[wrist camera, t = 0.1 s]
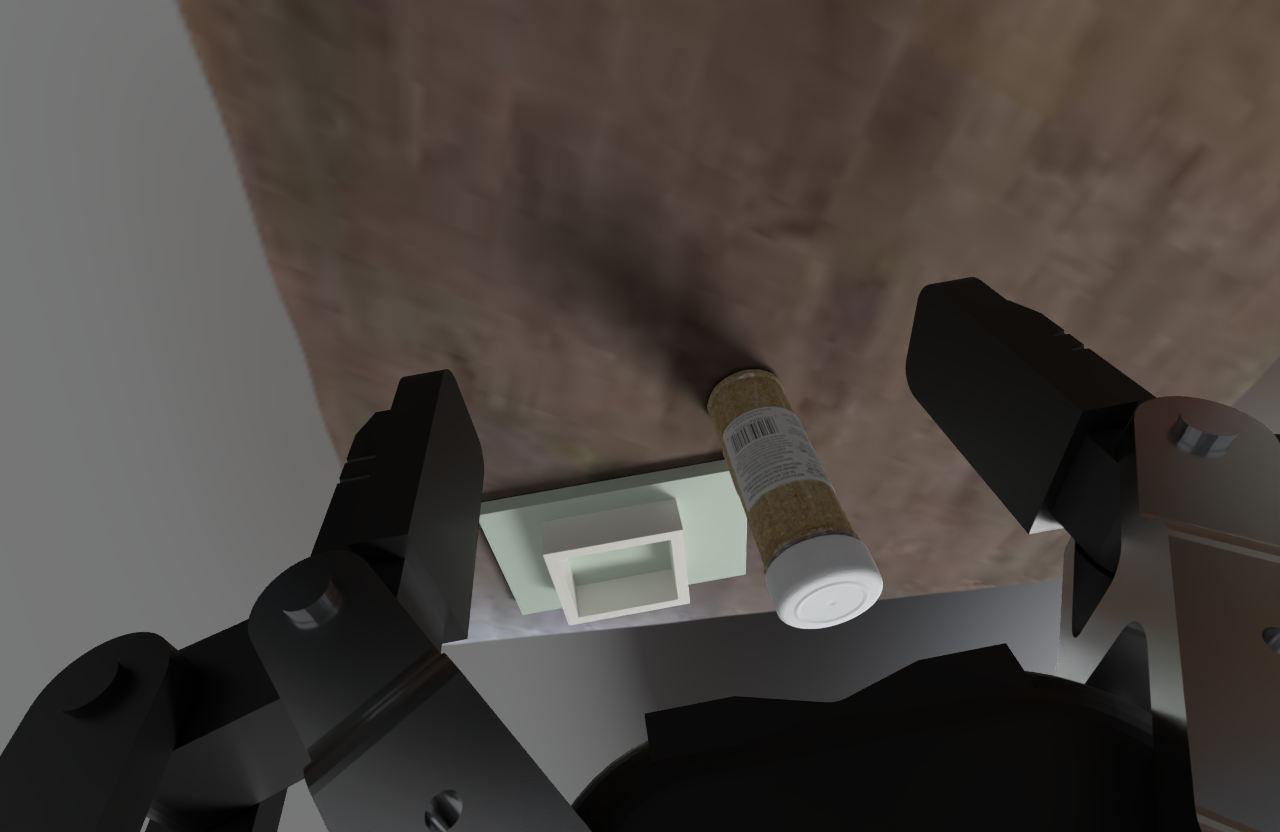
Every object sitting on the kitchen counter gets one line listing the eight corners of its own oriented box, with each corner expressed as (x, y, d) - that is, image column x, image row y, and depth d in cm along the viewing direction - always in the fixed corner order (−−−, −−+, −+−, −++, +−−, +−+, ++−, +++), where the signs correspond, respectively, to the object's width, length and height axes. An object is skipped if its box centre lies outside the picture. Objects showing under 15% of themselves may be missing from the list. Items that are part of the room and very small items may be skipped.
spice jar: (713, 434, 36) (783, 643, 26) (699, 378, 33) (772, 591, 23) (787, 412, 36) (885, 616, 26) (779, 354, 33) (888, 560, 23)
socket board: (477, 503, 37) (473, 549, 35) (743, 456, 38) (759, 498, 35) (522, 602, 45) (522, 646, 43) (742, 563, 46) (754, 603, 43)
